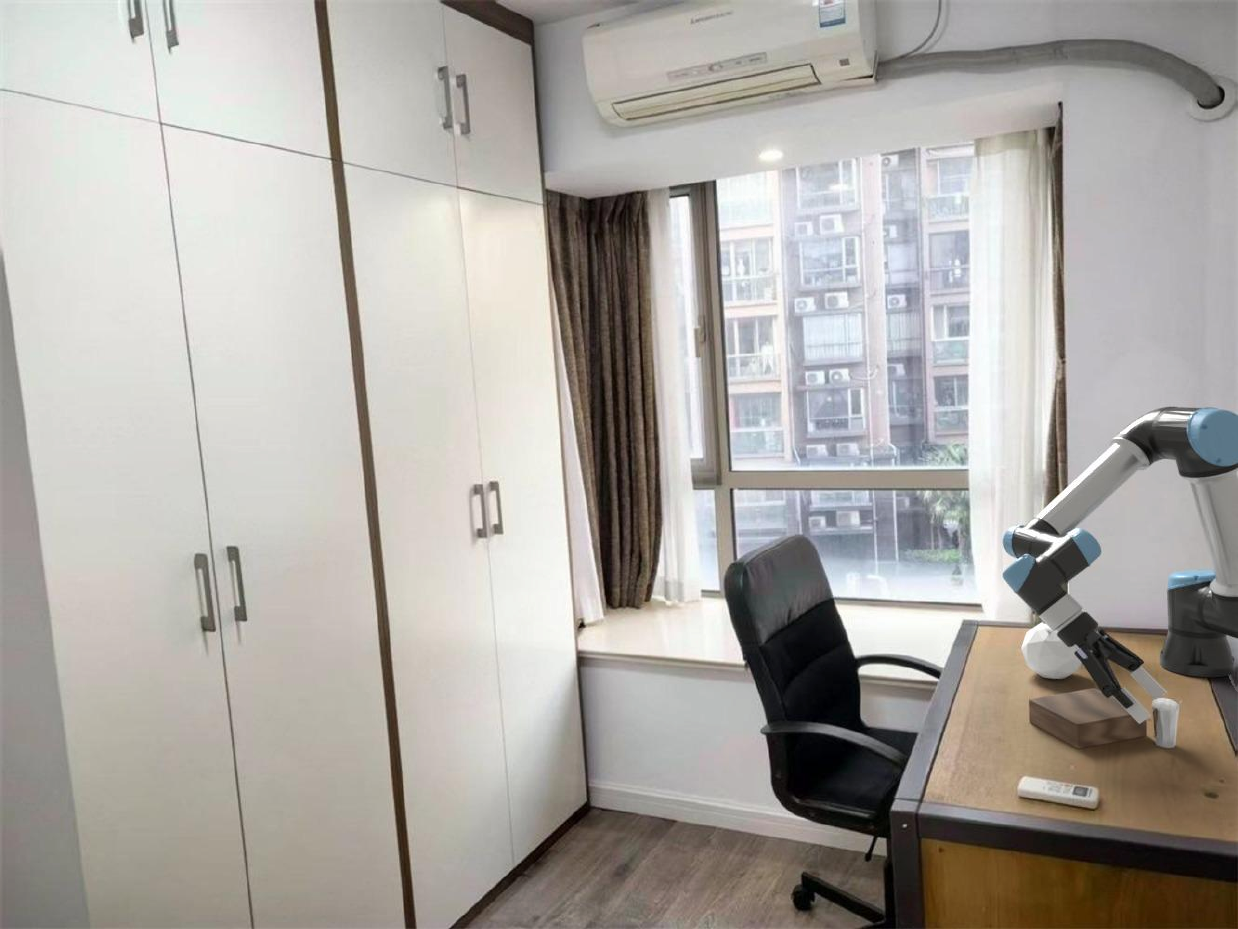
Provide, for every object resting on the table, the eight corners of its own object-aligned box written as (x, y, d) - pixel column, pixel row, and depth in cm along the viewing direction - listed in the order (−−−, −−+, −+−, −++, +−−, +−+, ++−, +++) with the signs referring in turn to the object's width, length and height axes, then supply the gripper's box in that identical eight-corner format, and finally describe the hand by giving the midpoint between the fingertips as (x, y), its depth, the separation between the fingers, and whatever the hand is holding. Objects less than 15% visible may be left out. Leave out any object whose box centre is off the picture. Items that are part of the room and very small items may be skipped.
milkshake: (1174, 753, 169) (1174, 703, 168) (1146, 743, 174) (1146, 694, 173) (1188, 747, 171) (1188, 697, 170) (1160, 738, 176) (1160, 689, 175)
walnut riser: (1094, 710, 191) (1094, 688, 191) (1146, 735, 178) (1146, 711, 177) (1029, 722, 188) (1029, 699, 187) (1077, 748, 174) (1077, 724, 174)
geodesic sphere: (1090, 669, 199) (1085, 612, 206) (1023, 666, 204) (1020, 609, 211) (1085, 689, 211) (1080, 633, 217) (1021, 685, 216) (1019, 631, 222)
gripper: (1073, 616, 192) (1153, 697, 184) (1035, 649, 174) (1122, 740, 166) (1100, 595, 188) (1183, 677, 180) (1064, 626, 170) (1154, 719, 162)
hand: (1154, 708), depth 173 cm, fingers open, 13 cm apart
